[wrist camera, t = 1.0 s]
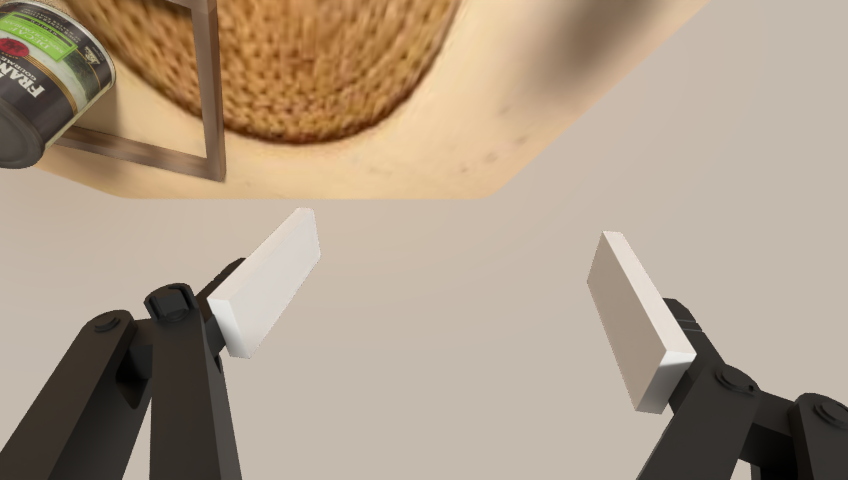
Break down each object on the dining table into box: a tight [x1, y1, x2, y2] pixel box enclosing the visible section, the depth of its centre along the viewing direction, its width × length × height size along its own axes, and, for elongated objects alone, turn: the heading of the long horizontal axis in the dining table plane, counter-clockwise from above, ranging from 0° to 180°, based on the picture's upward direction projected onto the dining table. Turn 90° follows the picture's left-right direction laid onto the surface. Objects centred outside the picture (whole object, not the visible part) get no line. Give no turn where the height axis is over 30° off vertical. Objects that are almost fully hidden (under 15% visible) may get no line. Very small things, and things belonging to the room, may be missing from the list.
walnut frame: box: [53, 0, 226, 182], centre depth 39 cm, size 33×25×2 cm
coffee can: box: [0, 0, 115, 169], centre depth 36 cm, size 10×10×14 cm
